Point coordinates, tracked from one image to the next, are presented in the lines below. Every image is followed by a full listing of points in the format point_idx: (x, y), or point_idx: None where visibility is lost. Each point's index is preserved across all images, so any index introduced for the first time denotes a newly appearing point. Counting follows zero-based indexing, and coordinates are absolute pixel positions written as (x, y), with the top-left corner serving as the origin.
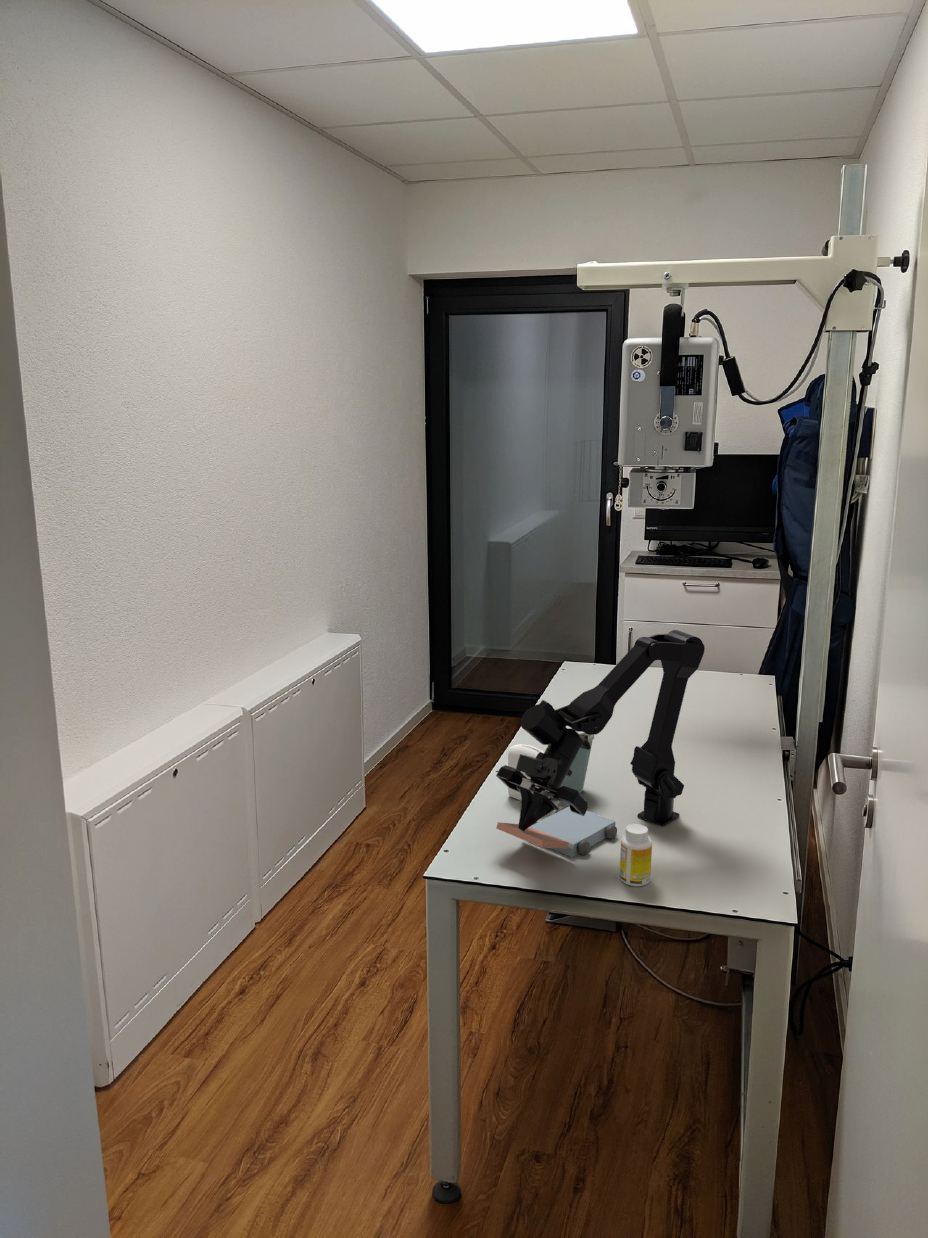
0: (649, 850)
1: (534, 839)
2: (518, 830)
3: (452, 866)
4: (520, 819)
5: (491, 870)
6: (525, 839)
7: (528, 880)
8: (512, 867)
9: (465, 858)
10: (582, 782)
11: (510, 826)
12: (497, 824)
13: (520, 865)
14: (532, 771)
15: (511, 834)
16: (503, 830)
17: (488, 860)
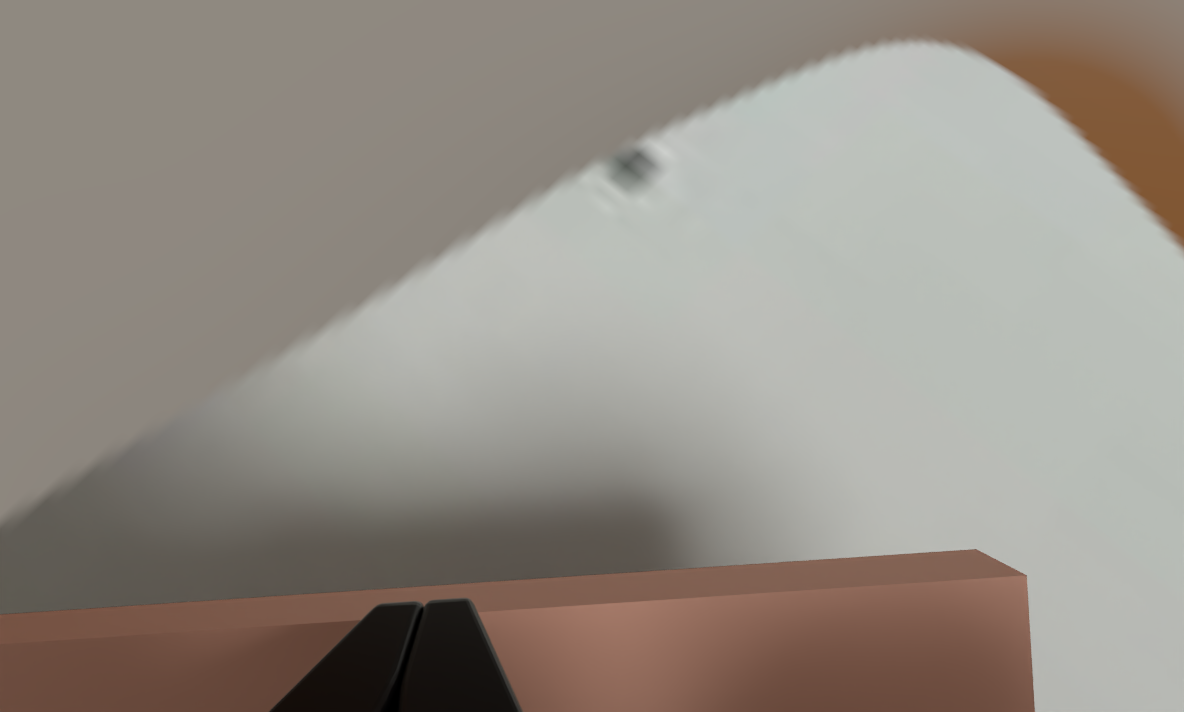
0: None
1: (68, 632)
2: (507, 647)
3: (952, 150)
4: (475, 687)
5: (638, 359)
6: (284, 596)
7: (211, 492)
8: (526, 567)
9: (1015, 335)
10: None
11: (781, 700)
12: (1004, 567)
13: None
14: None
15: (614, 573)
16: (812, 564)
17: (826, 482)
